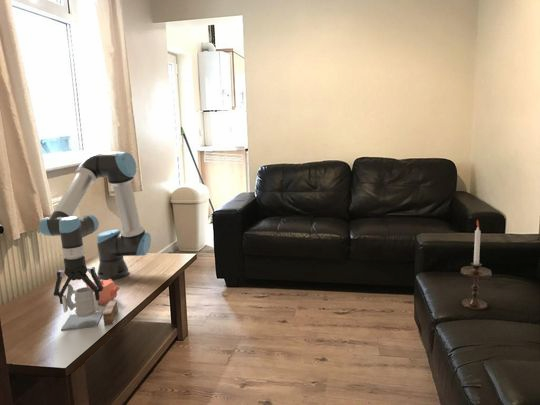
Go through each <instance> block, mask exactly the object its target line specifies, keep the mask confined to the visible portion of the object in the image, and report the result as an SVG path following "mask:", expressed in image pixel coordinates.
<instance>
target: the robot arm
mask: <svg viewBox="0 0 540 405" xmlns="http://www.w3.org/2000/svg"><path fill="white" fill-rule="evenodd" d="M136 173H137V164H136V160H135V157H134V156H133V155H132V154H131V153H130V152H128V151H109V152H95V153H92V154H91V155H89V156H88V157H87V158H85V159H83V161H81V162H80V164H79V165H78V166H77V167H76V169H75V171H74V177H73V178H72V181H71V182H70V183H69V186H68V187H67V189H66V191H65V192H64V194H63V196H62V197H61V199H60V200H59V202H58V204H57V206H56V207H55V208H54V210H53V212H52V214H51V215H50V216H47V217H44V218H42V219H41V220H40V222H39V226H38V227H39V231H40V233H41V234H42V235H43V236H51V237H57V236H58V237H59V236H60V241H61V249H62V256H63V262H64V263H63V264H64V270H62V269H58V271H57V272H56V282H55V286H54V289H53V296H57V297H58V298H59V304H60V305H62V308H63V313H64V314H65V313H67V312H68V310H69V307H68V305H67V300H66V298H67V294H66V293H65V292H66V290H67V289H68V285H69V284H71V283H70V282H71V281H81V280H82V281H84V282H83V283H85V285H86V284H87V285H88V286H89V287H90V288H91V289H92V290H93V291H94V293H93V300H94V308H95V309H96V310H97V309H98V308H99V303H98V301H97V300H99V298H100V296H99V292H100V291H102V290H103V286H102V284H101V282H100V280H109V279H112V281H113V280H117V279H121V278H124V277H126V276H127V275H129V273H130V272H129V268H128V266H127V263H126V261H125V259H124V257H139V256H140V257H143V256H146V255H147V254H148V253H149V252H150V248H151V243H152V236H151V234H150V233H149V232H146V230H145V227H144V226H142V225H141V222H140V218H139V213H138V208H137V202H136V199H135V194H134V189H133V184H132V181H133V180H134V176H136ZM101 178H107V181H108V184H110V185H112V190H113V192H114V198H115V201H116V205H117V210H118V213H119V214H118V215H119V219H120V224H121V227H122V230H120V229H118V228H117V229H111V230H105V231H102V232H100V233H98V234H97V236H96V244H97V250H98V258H99V265H98V269H97V272H96V267H94V266H93V267H87V264H86V256H85V248H84V241H83V238H84V237H86V236H88V235H91V234H93V233H94V232H96V231H97V230H98V229H99V226H100V222H99V220H98V218H97V217H96V216H95V215H92V214H87V215H86V214H85V215H83V216H74V215H75V213H76V211H77V210H78V208H79V206H80V204H81V203H82V201H83V199H84V197H85V195H86V193H87V192H88V191H89V189H90V187H91V185H92V184H94V183H95V182H96V180H97V179H101ZM87 272H88V274H90V276H91V278H92V279H90V277H89V276H88V275H87ZM64 275H66V277H67V279H66V281H65V283H64V284H63V286H62V288H61V285H62V284H61V283H62V280H63V277H64ZM92 280H93V281H92ZM94 282H95V284H96V285H95V284H94ZM97 287H98V288H97ZM60 288H61V290H60Z"/></svg>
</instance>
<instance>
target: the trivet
mask: <svg viewBox="0 0 540 405" xmlns="http://www.w3.org/2000/svg"><path fill="white" fill-rule="evenodd" d="M103 313H104V311H103V310H102V311H101V310H100V311H96V312H95V314H93V315H91V316H88V317H78V316H77V314H76V313H75V314H74V313H73V314H70V315H69V316H68V318H67V319H66V321H65V323H64V324H63V325H62V327H61V329H60V331H63V332H64V331H71V330H80V329H81V330H82V329H89V328H96V327H97V326H98V325H99V323H100V321H101V319H102V317H103Z"/></svg>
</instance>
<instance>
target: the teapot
mask: <svg viewBox="0 0 540 405" xmlns="http://www.w3.org/2000/svg"><path fill="white" fill-rule="evenodd" d="M99 280H100V282H101V284H102V286H103V290H102V291H100V292H99V296H100V298H99V300H97V301H98V304H102V306H107V305H108V303H109V301H111V300H115V298H117V296H118V292H119V290H120V289H121V287H120V286H118V285H115V282H114V281H113V280H112V279H109V280H101V279H99ZM82 281H83V280H82ZM83 283H85V282H84V281H83ZM93 283H94V284H95V282H94V281H93ZM95 285H96V284H95ZM85 287H89V286H88V285H87V284H86V283H85ZM97 288H98V287H97ZM92 292H93V293H94V291H93V290H92Z"/></svg>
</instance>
